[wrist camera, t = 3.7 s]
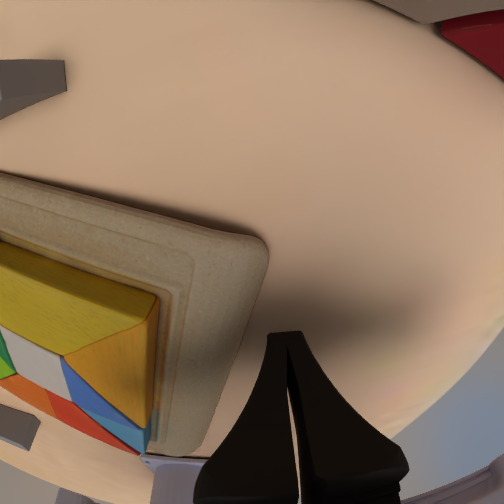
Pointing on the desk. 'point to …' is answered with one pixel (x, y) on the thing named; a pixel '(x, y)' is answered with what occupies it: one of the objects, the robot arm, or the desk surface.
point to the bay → (3, 104)
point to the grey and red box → (463, 24)
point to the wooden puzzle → (120, 315)
